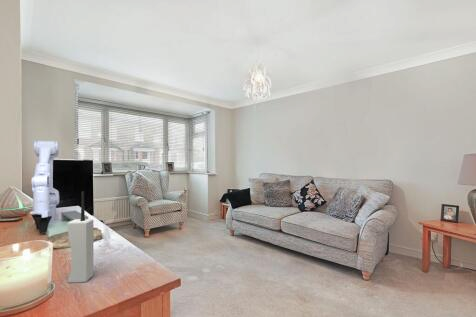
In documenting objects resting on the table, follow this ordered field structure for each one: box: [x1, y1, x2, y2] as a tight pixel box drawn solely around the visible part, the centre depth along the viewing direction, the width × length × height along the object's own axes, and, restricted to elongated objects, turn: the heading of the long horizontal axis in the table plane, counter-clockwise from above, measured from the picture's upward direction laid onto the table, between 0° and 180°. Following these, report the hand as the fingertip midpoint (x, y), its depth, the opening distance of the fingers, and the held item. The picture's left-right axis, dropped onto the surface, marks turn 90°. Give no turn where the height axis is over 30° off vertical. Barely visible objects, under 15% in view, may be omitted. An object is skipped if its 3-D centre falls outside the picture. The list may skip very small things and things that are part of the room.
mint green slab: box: [44, 220, 72, 237], centre depth 112 cm, size 14×12×3 cm
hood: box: [60, 210, 89, 222], centre depth 116 cm, size 21×6×6 cm, turn 49°
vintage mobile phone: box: [67, 191, 95, 284], centre depth 66 cm, size 4×5×25 cm
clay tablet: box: [44, 227, 103, 250], centre depth 96 cm, size 14×5×20 cm
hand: (41, 230), depth 107 cm, fingers open, 7 cm apart
